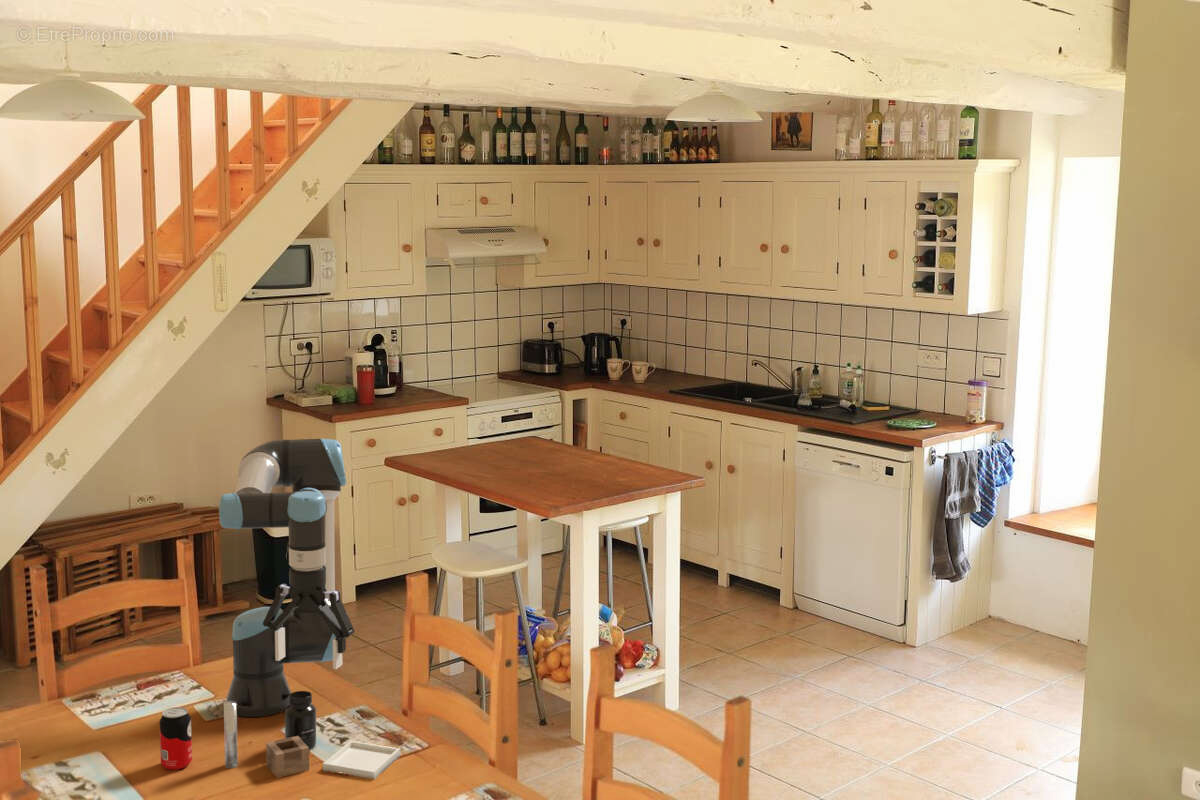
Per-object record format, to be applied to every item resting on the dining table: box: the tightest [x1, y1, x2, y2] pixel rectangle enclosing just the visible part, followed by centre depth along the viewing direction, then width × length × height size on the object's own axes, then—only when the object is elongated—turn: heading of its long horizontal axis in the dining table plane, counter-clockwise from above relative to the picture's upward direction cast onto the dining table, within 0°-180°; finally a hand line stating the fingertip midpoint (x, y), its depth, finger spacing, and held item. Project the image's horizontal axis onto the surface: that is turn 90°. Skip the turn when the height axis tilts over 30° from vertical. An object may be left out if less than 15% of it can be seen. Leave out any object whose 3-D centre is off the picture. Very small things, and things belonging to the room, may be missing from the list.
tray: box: [322, 740, 401, 780], centre depth 259 cm, size 12×12×2 cm
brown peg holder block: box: [265, 736, 310, 778], centre depth 256 cm, size 7×7×5 cm
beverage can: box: [159, 706, 193, 771], centre depth 255 cm, size 6×6×12 cm
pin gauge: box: [223, 700, 239, 769], centre depth 255 cm, size 3×3×14 cm
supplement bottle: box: [284, 690, 317, 750], centre depth 266 cm, size 7×7×12 cm
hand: (308, 662), depth 253 cm, fingers open, 13 cm apart
